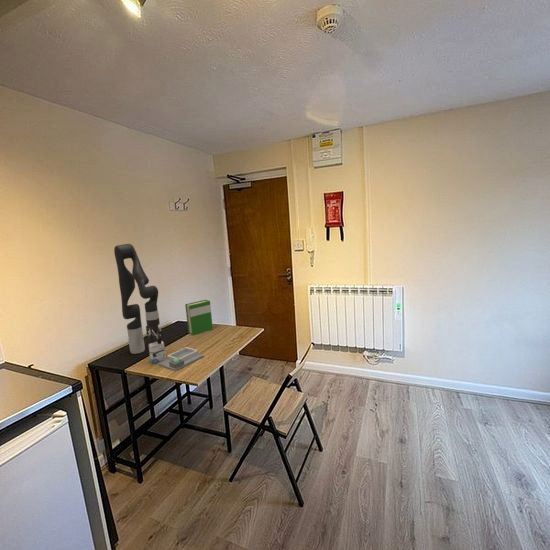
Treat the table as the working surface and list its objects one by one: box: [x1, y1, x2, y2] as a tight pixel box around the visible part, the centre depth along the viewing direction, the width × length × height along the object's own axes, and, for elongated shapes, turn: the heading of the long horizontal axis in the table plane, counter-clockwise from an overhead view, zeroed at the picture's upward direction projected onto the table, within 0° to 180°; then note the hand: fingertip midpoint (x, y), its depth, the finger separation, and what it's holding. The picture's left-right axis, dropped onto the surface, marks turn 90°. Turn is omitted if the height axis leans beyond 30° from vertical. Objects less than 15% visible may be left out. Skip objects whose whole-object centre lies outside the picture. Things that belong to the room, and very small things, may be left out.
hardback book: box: [184, 299, 214, 336], centre depth 241 cm, size 18×7×24 cm, turn 131°
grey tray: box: [157, 346, 205, 372], centre depth 190 cm, size 17×22×4 cm
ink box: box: [148, 340, 167, 364], centre depth 192 cm, size 8×5×12 cm, turn 126°
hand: (155, 342), depth 191 cm, fingers open, 8 cm apart
